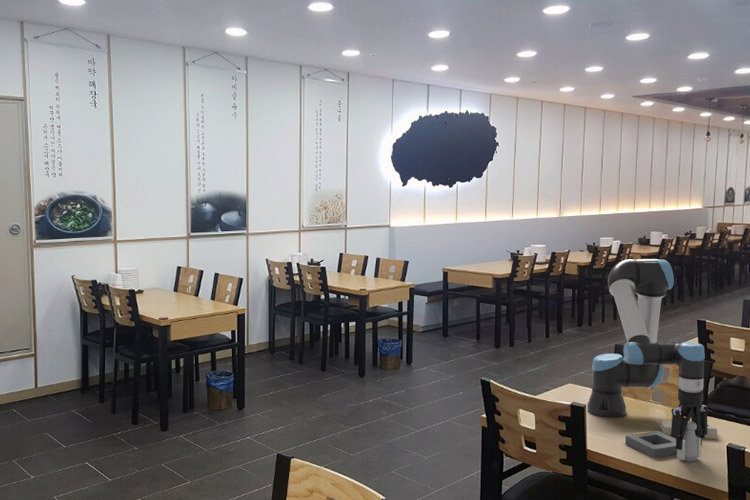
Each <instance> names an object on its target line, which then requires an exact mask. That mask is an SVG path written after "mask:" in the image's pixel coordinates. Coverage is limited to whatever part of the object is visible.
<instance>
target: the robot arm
mask: <svg viewBox="0 0 750 500" xmlns="http://www.w3.org/2000/svg"><path fill="white" fill-rule="evenodd" d="M674 279H675V278H674V271H673V268H672V266H671V264H670V262H668V261H667V260H666V259H660V258H659V259H657V258H650V259H649V258H641V259H640V258H639V259H638V258H636V259H635V258H634V259H633V258H628V259H627V258H626V259H623V260H621V261H619V262H617V263H616V264H615V265H614V266H613V267H612V268H611V270H610V272H609V274H608V276H607V288H608V291H609V294H610V295H611V296H613V298H614V302H615V304H616V307H617V308H616V309H617V312H618V314H619V317H620V322H621V325H622V328H623V332H624V336H625V338H626V341H627V342H625V343H624V345H623V348H622V349H623V350H622V352H623V355H622V354H619V353H603V354H599V355H597V356H595V357H594V358H593V359H592V365H591V370H592V375H591V376H592V378H591V381H592V383H591V393H590V397H589V400H588V403H586V404H587V406H586V409H588V410H587V412H589V413H590V414H592V413H593V415H595V414H596V415H595V416H601V417H605V418H606V417H607V418H618V417H623V416H626V414H627V407H626V403H625V400H624V397H623V388H647V389H648V388H655V387H658V386H659V385H660V384H661V382H662V380H663V377H664V365H666V366H671V365H673V366H678V385H677V386H678V389H677V391H678V392H677V399H678V402H679V404H678V406H677V407H676V408H674V407H673V408H671V411H670V412H671V422H672V427H671V435H670V437H672V438H674V439H676V448H677V454H676V457H677V458H678V459H680V460H682V461H684V460H685V440H683V439H684V435H685V431H686V428H687V424H688V421H693V422H695V423H696V425H697V429H696V430H695V435H696V442H697V449H698V457H697V458H701V449H702V448H701V447H702V445H703V444H702V443H703V439H706V438H705V436H704V435H707V422H708V413H709V406H707V405H704V404H702V403H703V402H704V392H703V390H704V377H705V376H704V372H705V358H706V354H705V346H704V345H703V344H701V343H697V342H691V341H685V342H684V341H683V342H682V341H679V340H670V341H668V342H658V341H657V340H658V333H659V332H658V331H659V325H660V324H659V323H660V314H661V305H662V298H664V297H666V296H667V291H669V290H672V289H673V286H674V283H675V282H674ZM636 295H637V296H636ZM679 435H680V436H679Z"/></svg>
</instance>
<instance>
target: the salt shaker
mask: <svg viewBox="0 0 750 500" xmlns="http://www.w3.org/2000/svg"><path fill="white" fill-rule="evenodd" d="M696 429H697V425H696V423H695V422H693V421H692V420H690V421H688V424H687V428H686V431H685V435H684V439H683V440H685V460H683V461H684V462H689V463H692V462H696V461H697V458H699V457H698V449H697V442H696V436H695V430H696Z"/></svg>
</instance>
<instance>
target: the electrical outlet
mask: <svg viewBox="0 0 750 500" xmlns="http://www.w3.org/2000/svg"><path fill="white" fill-rule="evenodd" d="M660 424H661V425H660V427H661V428H660V429H661V432H662V433H663V434H665V435H668V436H671V427H672V421H669V420H661V422H660ZM679 436H680V435H679ZM695 436H696V435H695ZM704 436H705V438H704V439H712V438H713V439H714V438H715V440H716V439H718V428H717V427H716V425H715V423H713V422H708V421H707V435H704Z"/></svg>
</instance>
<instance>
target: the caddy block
mask: <svg viewBox="0 0 750 500" xmlns="http://www.w3.org/2000/svg"><path fill="white" fill-rule="evenodd" d="M625 445H628V446H629V447H631V448H633V449H635V450H637V451H639V452H640V453H643V454H645V455H647V456H648V457H651V458H653V459H654V458H655V459H656V458H657V459H658V458H662V457H668V456H674V455H675V456H676V455H677V448H676V439H675V438H673V437H671V435H666V434H663V432H662V431H658V430H654V431H651V430H650V431H642V432H636V433H635V432H634V433H632V434H628V435H627V434H626V435H625Z"/></svg>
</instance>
